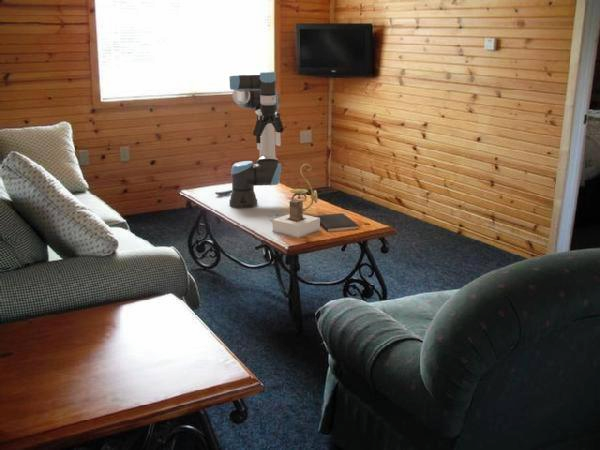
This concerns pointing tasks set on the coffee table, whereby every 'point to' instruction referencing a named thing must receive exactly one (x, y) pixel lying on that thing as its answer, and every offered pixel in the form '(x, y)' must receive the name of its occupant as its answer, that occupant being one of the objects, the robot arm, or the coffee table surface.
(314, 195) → the wall sconce
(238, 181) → the robot arm
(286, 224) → the grey well block
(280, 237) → the coffee table surface
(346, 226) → the hardcover book
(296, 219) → the walnut peg
